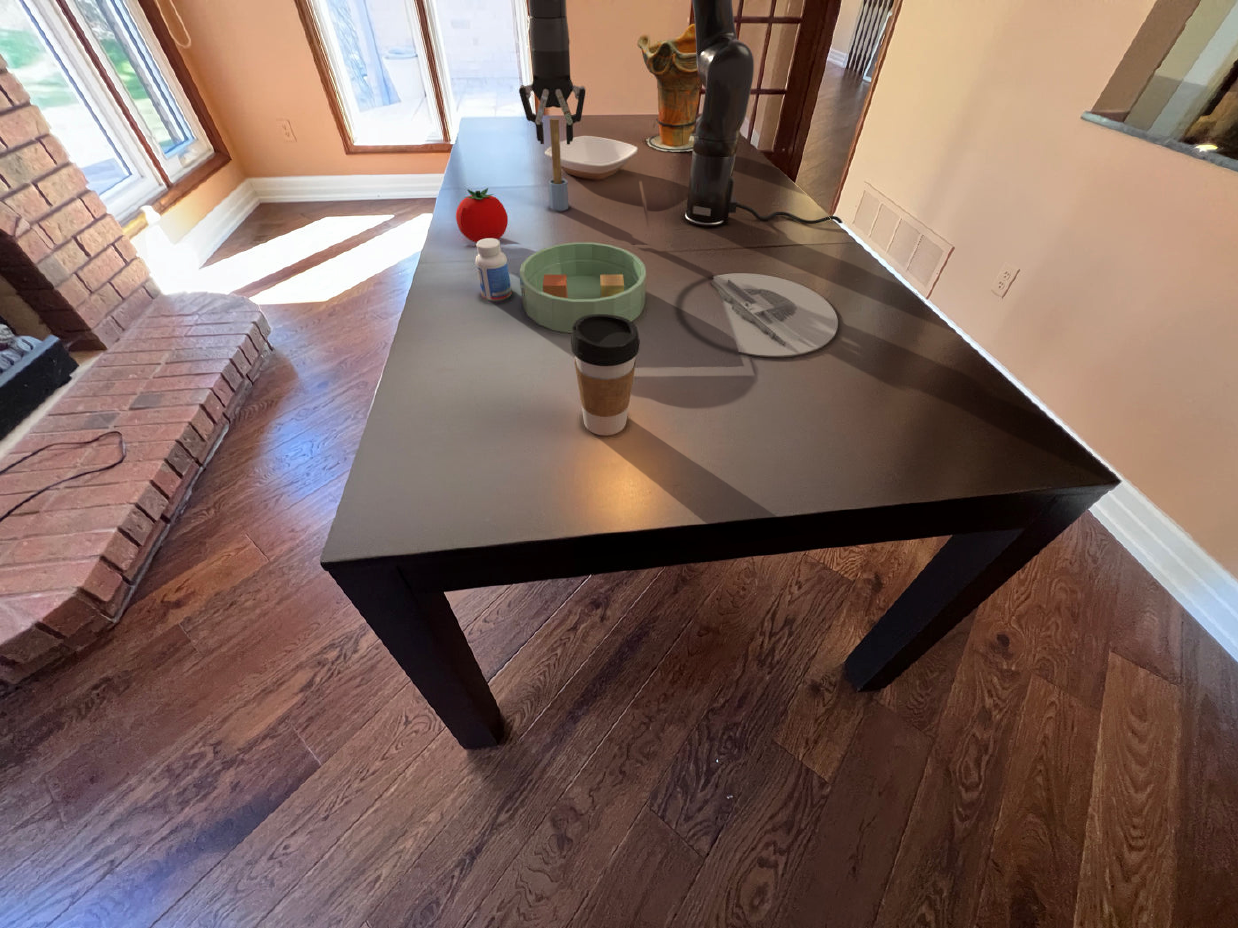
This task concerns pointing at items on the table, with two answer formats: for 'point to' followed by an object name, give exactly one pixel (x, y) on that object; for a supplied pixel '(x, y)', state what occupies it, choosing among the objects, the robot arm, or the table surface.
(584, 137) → the bowl
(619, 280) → the block
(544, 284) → the block
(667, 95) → the decorative vase
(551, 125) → the stick
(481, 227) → the tomato
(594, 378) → the coffee cup
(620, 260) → the stir bowl
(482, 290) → the pill bottle
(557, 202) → the stick holder
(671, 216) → the table surface
